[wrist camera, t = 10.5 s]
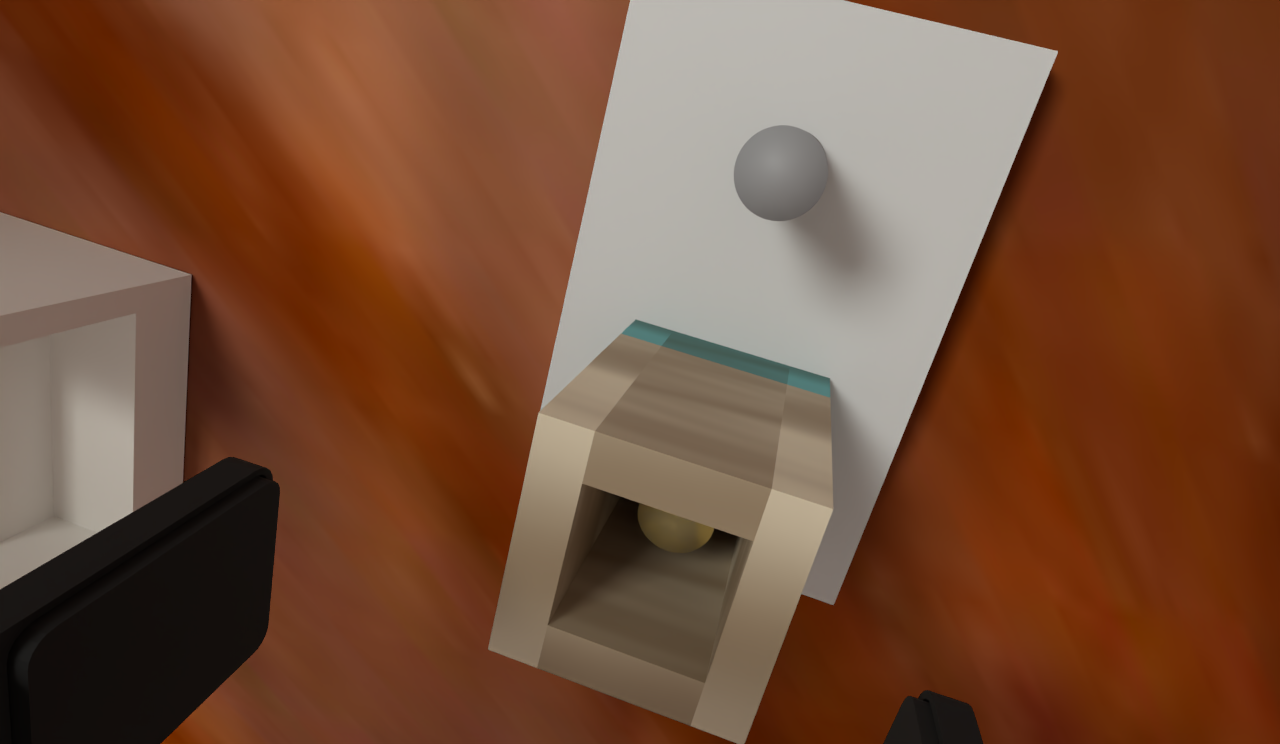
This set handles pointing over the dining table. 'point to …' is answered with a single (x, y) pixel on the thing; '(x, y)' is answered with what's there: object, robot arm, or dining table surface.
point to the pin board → (830, 254)
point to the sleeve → (684, 486)
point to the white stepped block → (84, 389)
